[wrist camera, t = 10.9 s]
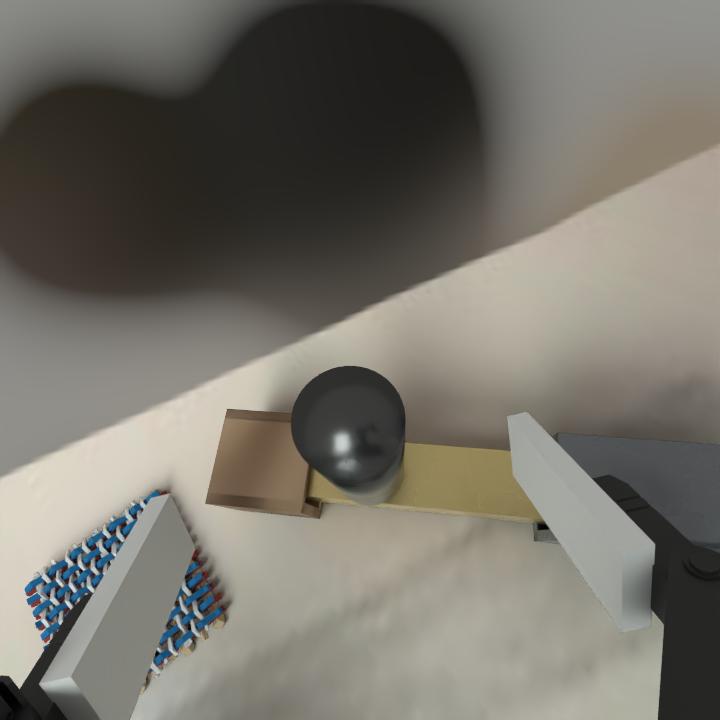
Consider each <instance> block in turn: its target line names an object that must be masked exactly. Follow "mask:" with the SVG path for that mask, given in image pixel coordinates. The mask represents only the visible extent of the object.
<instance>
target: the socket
mask: <svg viewBox="0 0 720 720" xmlns="http://www.w3.org/2000/svg"><path fill="white" fill-rule="evenodd" d="M291 415H292V414H291V413H277V412H263V411H250V410H236V409H227V412H226V416H225V420H224V424H223V429H222V433H221V437H220V442H219V446H218V450H217V455H216V459H215V463H214V468H213V472H212V476H211V481H210V485H209V489H208V494H207V498H206V502H205V503H206V504H211V505H216V506H221V507H226V508H231V509H236V510H241V511H251V512H261V513H270V514H280V515H289V516H299V517H309V518H318V519H320V513H321V505H322V502H317V501H307V500H305V498H306V491H307V485H308V478H309V471H310V465H309V464H308V463H307V462H306V461H305V460H304V459H303V458H302V457H301V455H300V454H299V452H298V450H297V448H296V446H295V444H294V441H293V438H292V432H291Z"/></svg>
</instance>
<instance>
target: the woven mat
mask: <svg viewBox="0 0 720 720" xmlns="http://www.w3.org/2000/svg"><path fill="white" fill-rule="evenodd" d="M166 494H167V492H166V491H164V492H162V493H161V494H159V492H158V491H157V490H154V491H151V492H150V495H149V496H148V497H147V498H146V499H145V500H144V496H143V497H141V498H140V503H139V504H137V503H136V502H135V501H133V502H131V504H132V505H133V507H132V508H131V510H130V511H129V507H128V508H125V511H124V512H123V513H122V514H121V516H120V517H119V519H116V518H115V517H114V516H112V517H111V518H110V519H111V521H112V522H111V523H110V525H109V527H108V528H107V523H106V522H105V524H104V525H103V531H102V532H100V533H99V531H98V530H97V529H95V530H94V534H92V536H93V537H91V538H90V540H89V541H88V542H87V539H86V538H83V540H82V543H80V544H79V546H77V545H76V544H74V545H72V547H73V548H74V550H73V552H72V553H71V554H70V551H69V550H67V552H66V556H65V560H63V561H61V562H59V563H57V562H56V561H55V560H54V559H53V560H52V561H51V563H52V564H53V565H52V566H50V567H49V568H48V567H47V566H46V567H44V568H43V573H42V576H40V574H39V573H38V572H37V573H35V574H34V576H35V577H34V578H33V581H31V582H30V583H29V584H28V585H27V587H26V588H25V592H26V595H27V596H31V595H33V594H34V593H35V592H38V593H37V594H35V595H33V596H32V597H30V598H28V599H27V602H28V605H31V607H35V606H37V605H38V604H39V605H38V606H37V607H36V608H35V610H34V611H33V615H34V617H36V620H38V619H40V618H41V620H40V621H38V622H36V623H35V625H36V628H38V629H39V630H43V629H45V628H47V629H46V630H45V631H44V632H43V633H42V634H41V638H42V641H43V640H44V642H45V643H46V642H47V641H48V640H50V641H51V639H52V638H53V636H54V635H55V633H56V632H58V628H59V627H60V625H61V623H62V622H63V620H64V619H65V617H66V616H67V614H68V612H69V611H70V610H71V609H72V608H73V607H74V606H75V605H76V604H77V603H78V602H79V601H80V600H81V599H82V598H83V597H84V596H85V595H88V594H92V593H94V591H95V590H96V588H97V586H98V585H99V583H100V581H101V580H102V578H103V576H104V575H105V573H106V571H107V570H108V568H109V566H110V565H111V563H112V561H113V560H114V558H115V556H116V555H117V553H118V552H119V550H120V548H121V547H122V545H123V543H124V542H125V540H126V538H127V537H128V535H129V533H130V532H131V530H132V528H133V527H134V525H135V523H136V522H137V520H138V519H137V520H134V519H135V518H139V517H140V515H141V513H142V512H143V510H144V508H145V507H146V505H147V503H148V502H149V500H150V498H153V497H157V496H159V495H160V496H161V495H166ZM124 526H126V527H125V528H124V529H123V530H122V531H121V528H122V527H124ZM107 539H108V540H107ZM96 548H97V549H96ZM111 551H112V552H111ZM198 554H199V553H198V551H197V550H195V551H194V554H193V556H192V559H191V561H190V564H189V567H188V569H187V572H186V575H185V577H184V580H183V582H182V585H181V588H180V590H179V593H178V595H177V598H176V601H175V603H174V606H173V609H172V611H171V614H170V616H169V619H168V622H167V624H166V626H167V625H168V624H169V623H171V622H172V624H173V626H174V627H172V628H171V629H170V630H169V629H168V628H167V627H165V629H164V632H163V635H162V637H161V640H160V643H159V645H158V648H157V650H156V652H157V651H159V653H160V654H159V655H158V656H157V657H156V656H154V658H153V661H152V663H151V666H150V669H149V671H148V674H150V673H152V674H153V675H155V676H154V677H159V675H160V672H161V671H162V670H163V668H162V663H163V662H164V663H165V664H166V663H167V662H168V659H169V662H172V661H173V660H174V659H176V658H177V657H178V653H177V651H178V650H180V651H181V652H182V653H183V654H184V655H185V656H187V655H189V654H191V653H192V652H193V649H194V646H195V644H193V643H192V639H193V638H194V637H195V636H197V637H199V636H200V637H201V638H202V640H203V642H204V641H205V640H206V639H208V638H209V637H208V634H207V632H206V631H207V630H208V628H209V626H208V625H209V624H210V623H211V622H213V626H214V628H219V629H222V627H223V625H224V623H225V619H224V614H223V612H225V611H226V608H225V606H224V605H223V606H220V607H219V605H218V603H217V601H219V600H220V599H221V598H222V596H221V594H220V592H219V593H218V594H217V595H215V596H214V595H213V593H212V591H211V590H212V589H214V588H215V586H214V584H213V583H210V584H209V583H207V581H206V578H207V577H209V576H208V574H207V572H204V573H202V572H201V570H200V567H202V566H203V565H202V563H201V561H198V562H197V561H196V562H195V561H194V559H195V558H196V557H197V556H198ZM100 558H101V559H100ZM98 559H100V560H99V561H98V562H96V561H97V560H98ZM65 570H67V571H66V572H65V573H64V574H63V572H64V571H65ZM102 570H103V573H101V571H102ZM82 571H83V572H82ZM81 572H82V573H81ZM190 575H191V576H192V579H191V580H190V581H189V582H188V583H187V584H186V581H185V579H186V578H188V577H189V576H190ZM53 579H54V581H52V580H53ZM68 582H69V584H68V585H67V583H68ZM86 582H87V584H86ZM195 587H197V588H198V591H196V592H195V593H194V594H192V593H191V592H192V591H193V589H194V588H195ZM57 590H58V592H57V594H56V591H57ZM73 592H74V594H73V596H72V595H71V594H72V593H73ZM202 597H203V599H204V602H203V603H202V604H201V605H200V606H199V607H198V605H197V601H198V600H200V599H201V598H202ZM177 602H179V603H180V606H178V607H177V606H176V603H177ZM61 603H62V604H61ZM207 609H209V611H210V614H209V615H208V616H206V617H204V616H203V615H202V613H203V612H204V611H206V610H207ZM183 612H184V613H185V614H186V616H185V617H184V618H183V619H182V617H181V614H182V613H183ZM65 613H67V614H66V616H65V617H64V614H65ZM190 623H191V630H190V631H189V630H188V624H190ZM175 635H176V642H175V643H174V644H173V637H174V636H175ZM47 646H49V644H48V645H46V646H44V650H45V649H46V647H47ZM148 674H147V675H148ZM146 683H147V682H146V679H145V682H144V684H143V687H142V690H141V692H140V694H143V691H144V689H145V686H146Z"/></svg>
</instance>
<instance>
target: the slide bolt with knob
mask: <svg viewBox="0 0 720 720" xmlns="http://www.w3.org/2000/svg"><path fill="white" fill-rule="evenodd" d="M291 432H292V438H293V441H294V444H295V446H296V448H297V450H298V452H299V454H300V455H301V457H302V458H303V459H304V460H305V461H306V462H307V463H308V464H309V465H310V471H309V478H308V485H307V491H306V498H305V500H307V501H317V502H327V503H337V504H347V505H357V506H368V507H378V508H388V509H398V510H408V511H418V512H428V513H438V514H449V515H459V516H469V517H479V518H489V519H499V520H509V521H519V522H530V523H540V524H546V522H545V521H544V520H543V518H542V517H541V515H540V514H539V512H538V511H537V509H536V508H535V506H534V505H533V504H532V502H531V501H530V499H529V498H528V496H527V495H526V493H525V492H524V491H523V489H522V488H521V486H520V485H519V483H518V482H517V480H516V479H515V477H514V476H513V469H512V459H511V451H507V450H494V449H481V448H469V447H456V446H443V445H431V444H418V443H406V442H405V410H404V406H403V403H402V400H401V398H400V395H399V394H398V392H397V390H396V389H395V388H394V386H393V385H392V384H391V383H390V382H389V381H388V380H387V379H386V378H384V377H383V376H382V375H380V374H378V373H377V372H375V371H372V370H370V369H367V368H363V367H358V366H343V367H337V368H333V369H330V370H328V371H325V372H323V373H321V374H319V375H318V376H317V377H315V378H314V379H312V380H311V381H310V382H309V383H308V384H307V385H306V386H305V387H304V388H303V390H302V391H301V393H300V394H299V396H298V398H297V400H296V402H295V404H294V407H293V411H292V415H291Z"/></svg>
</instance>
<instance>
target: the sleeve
mask: <svg viewBox="0 0 720 720" xmlns="http://www.w3.org/2000/svg"><path fill="white" fill-rule="evenodd" d="M552 438H553V439H554V440H555V441H556V442H557V443H558V444H559V445H560V446H561V447H562V449H563V450H564V451H565V452H566V453H567V454H568V455H569V456H570V457H571V458H572V459H573V460H574V461H575V462H576V463H577V464H578V465H579V466H580V467H581V468H582V469H583V470H584V471H585V472H586V473H587V474H588V475H589V476H590V477H591V478H596V477H600V476H605V475H609V474H610V475H612V476H614V477H616V478H618V479H620V480H622V481H624V482H626V483H627V484H628V485H630V486H631V487H632V488H633V489H634V490H635V491H636V492H637V493H638V494H639V495H640V497H641V498H642V497H643V498H644V499H645V500H646V501H647V502H648V503H649V504H650V505H651V507H652V508H654V509H655V510H657V511H658V512H659V513H660V514H661V515H662V516H663V517H664V518H665V519H666V520H667V521H668V522H670V523H671V524H672V525H673V526H674V527H675V528H676V529H677V530H678V531H679V532H680V533H681V534H683V535H684V536H685V537H686V538H687V539H688V540H689V541H690V542H691V543H692V544H693V545H695V546H700V547H705V548H708V549H711V550H713V551H716V552H718V553H720V445H715V444H702V443H688V442H674V441H661V440H647V439H633V438H620V437H606V436H592V435H578V434H565V433H557V434H556V435H554V436H553V437H552ZM533 525H534V541H540V542H549V543H559V541H558V540H557V538H556V537H555V535H554V534H553V533H552V531H551V530H550V528H549V527H548V525H547V524H540V523H533ZM559 544H560V543H559Z"/></svg>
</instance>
